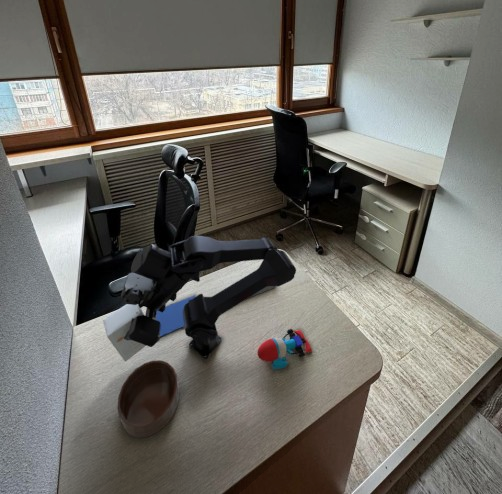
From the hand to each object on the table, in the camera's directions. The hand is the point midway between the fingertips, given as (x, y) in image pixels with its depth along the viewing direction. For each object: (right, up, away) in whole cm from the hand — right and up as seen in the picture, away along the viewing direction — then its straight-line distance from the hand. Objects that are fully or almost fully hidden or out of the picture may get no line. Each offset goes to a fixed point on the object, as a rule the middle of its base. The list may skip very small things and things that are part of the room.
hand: (129, 323), depth 66 cm
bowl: (+7, -16, -4) cm, 18 cm away
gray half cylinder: (+29, -4, +24) cm, 38 cm away
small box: (+1, -6, +3) cm, 7 cm away
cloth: (+7, -8, +16) cm, 19 cm away
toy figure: (+39, -12, +7) cm, 41 cm away
